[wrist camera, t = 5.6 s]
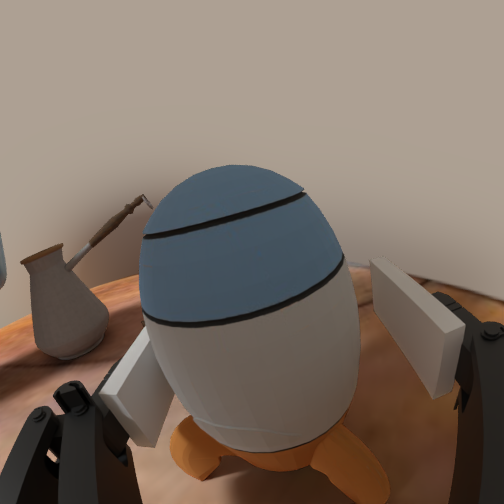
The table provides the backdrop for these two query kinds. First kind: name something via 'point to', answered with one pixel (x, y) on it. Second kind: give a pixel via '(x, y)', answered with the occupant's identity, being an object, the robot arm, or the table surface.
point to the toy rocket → (256, 328)
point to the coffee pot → (68, 298)
